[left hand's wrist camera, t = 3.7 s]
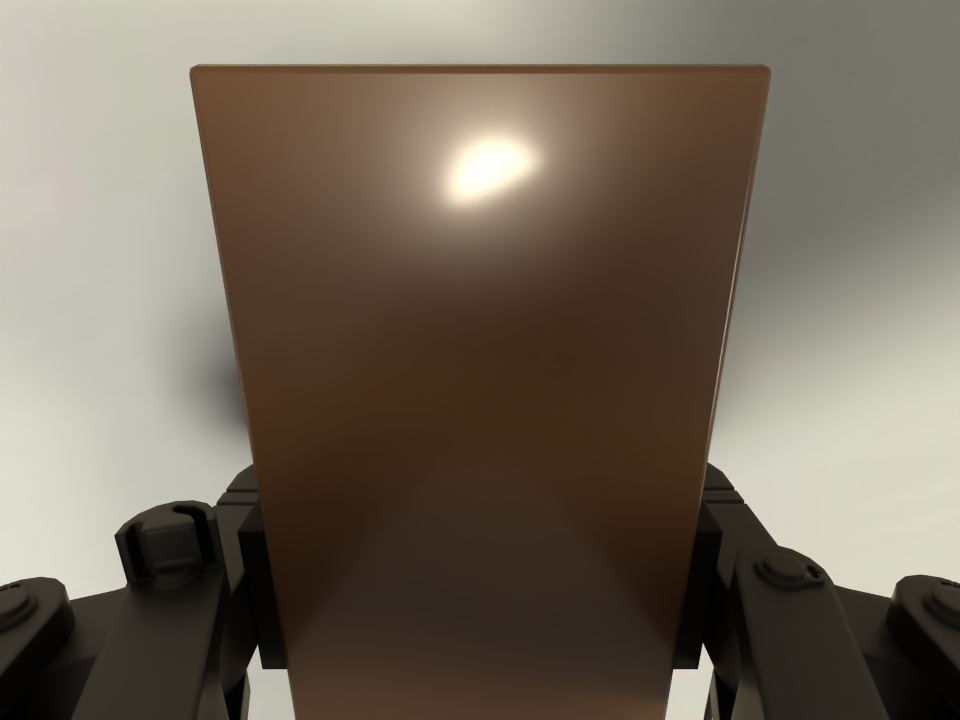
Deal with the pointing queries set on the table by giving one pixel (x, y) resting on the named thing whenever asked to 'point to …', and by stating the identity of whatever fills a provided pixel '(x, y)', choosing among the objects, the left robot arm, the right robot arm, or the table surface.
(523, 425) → the post
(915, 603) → the left robot arm
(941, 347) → the table surface
